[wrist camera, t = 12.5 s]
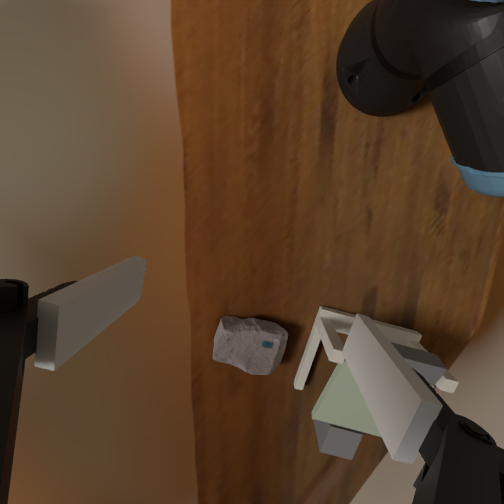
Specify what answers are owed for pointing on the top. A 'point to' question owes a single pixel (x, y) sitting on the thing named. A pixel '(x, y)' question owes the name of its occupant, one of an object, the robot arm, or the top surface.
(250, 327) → the stone
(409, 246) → the top surface
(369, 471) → the top surface
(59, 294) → the robot arm
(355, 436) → the basalt block
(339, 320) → the stand
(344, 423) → the trapdoor
